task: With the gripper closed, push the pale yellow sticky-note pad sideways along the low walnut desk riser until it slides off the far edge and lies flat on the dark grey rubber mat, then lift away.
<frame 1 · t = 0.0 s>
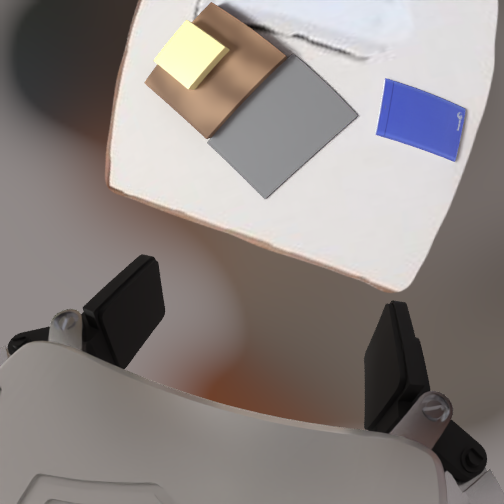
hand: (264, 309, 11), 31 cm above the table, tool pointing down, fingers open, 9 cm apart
riser: (213, 68, 34), on the table
mat: (279, 126, 36), on the table
hard drive: (420, 119, 31), on the table
sticky pad: (193, 55, 32), point 2 cm above the table, touching riser
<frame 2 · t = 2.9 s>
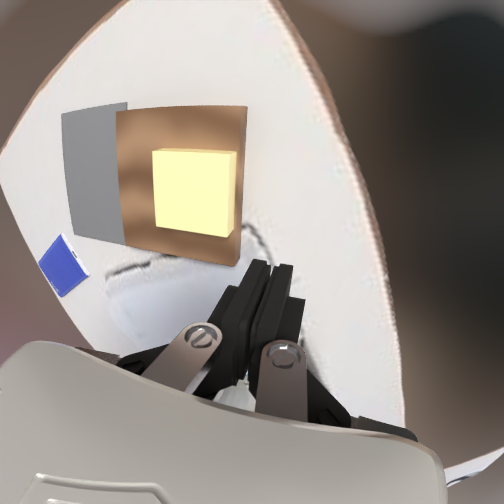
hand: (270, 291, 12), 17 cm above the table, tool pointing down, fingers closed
riser: (180, 180, 29), on the table
mat: (94, 176, 32), on the table
hard drive: (65, 264, 43), on the table
sticky pad: (197, 187, 27), point 2 cm above the table, touching riser
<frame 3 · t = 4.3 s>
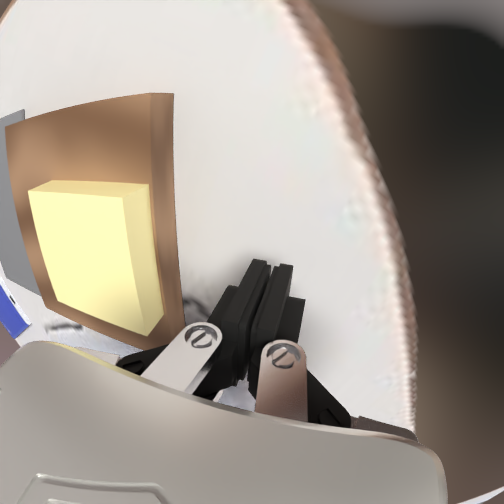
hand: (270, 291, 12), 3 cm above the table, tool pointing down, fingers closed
riser: (89, 225, 17), on the table
mat: (7, 211, 20), on the table
hard drive: (11, 305, 31), on the table
sticky pad: (101, 245, 15), point 2 cm above the table, touching riser
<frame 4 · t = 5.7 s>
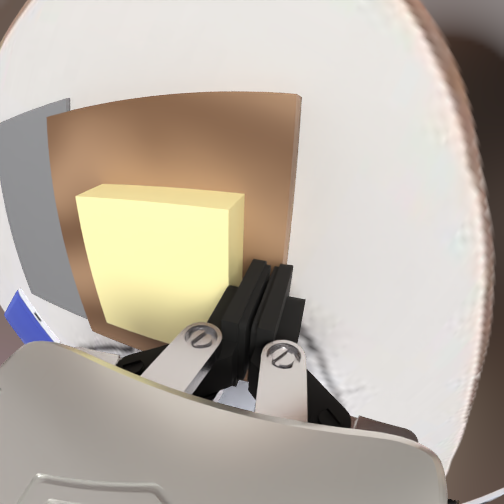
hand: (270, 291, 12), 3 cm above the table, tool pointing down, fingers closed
riser: (164, 241, 16), on the table
mat: (38, 220, 19), on the table
hard drive: (33, 321, 30), on the table
sticky pad: (169, 260, 14), point 2 cm above the table, touching gripper
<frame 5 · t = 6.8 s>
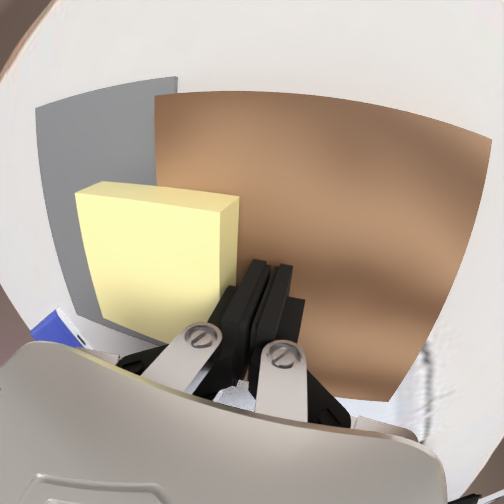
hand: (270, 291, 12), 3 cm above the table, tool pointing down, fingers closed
carrying case or bag: (462, 499, 33), on the table
riser: (308, 264, 14), on the table
mat: (103, 230, 17), on the table
hard drive: (69, 341, 28), on the table
sticky pad: (165, 259, 14), point 2 cm above the table, touching riser
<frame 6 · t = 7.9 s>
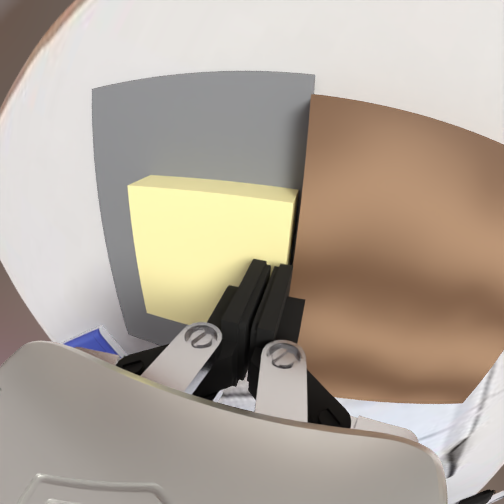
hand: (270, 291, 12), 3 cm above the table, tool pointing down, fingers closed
carrying case or bag: (476, 495, 32), on the table
riser: (423, 283, 13), on the table
mat: (186, 243, 16), on the table
hard drive: (105, 359, 27), on the table
sticky pad: (217, 251, 15), resting on mat
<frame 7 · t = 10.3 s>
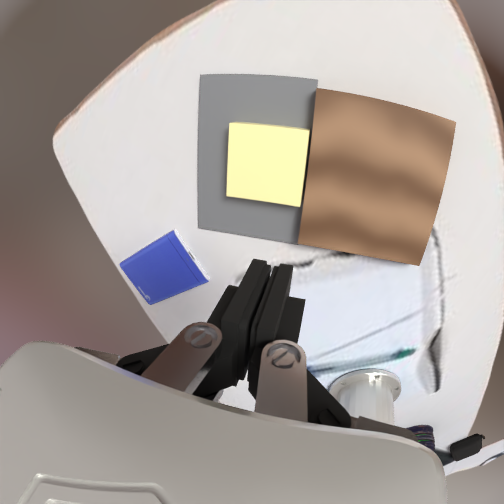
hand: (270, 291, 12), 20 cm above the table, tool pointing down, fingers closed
storage jar: (413, 433, 47), on the table
carrying case or bag: (467, 442, 48), on the table
riser: (375, 177, 27), on the table
mat: (251, 158, 29), on the table
hard drive: (164, 266, 40), on the table
sticky pad: (269, 160, 29), resting on mat
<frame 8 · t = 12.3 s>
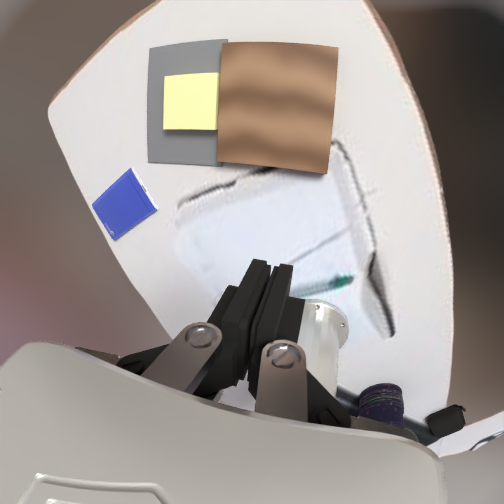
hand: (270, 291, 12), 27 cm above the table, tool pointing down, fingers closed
storage jar: (380, 395, 52), on the table
carrying case or bag: (447, 416, 52), on the table
riser: (277, 103, 32), on the table
mat: (183, 102, 35), on the table
hard drive: (126, 204, 46), on the table
sticky pad: (195, 101, 34), resting on mat
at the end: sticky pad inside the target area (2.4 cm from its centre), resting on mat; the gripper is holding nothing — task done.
